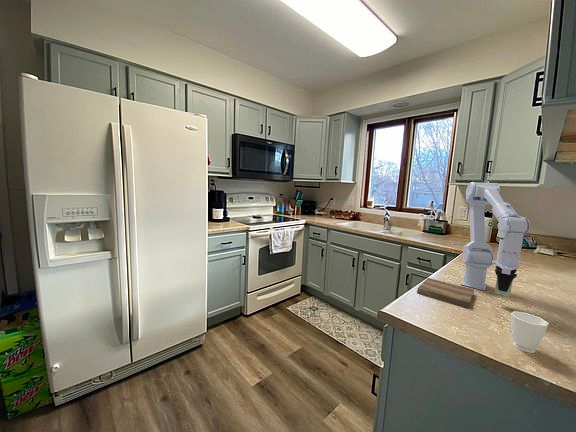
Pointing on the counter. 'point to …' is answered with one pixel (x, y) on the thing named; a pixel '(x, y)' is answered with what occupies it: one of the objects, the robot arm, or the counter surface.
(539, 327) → the cup
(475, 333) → the counter surface
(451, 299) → the base board
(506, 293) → the block
